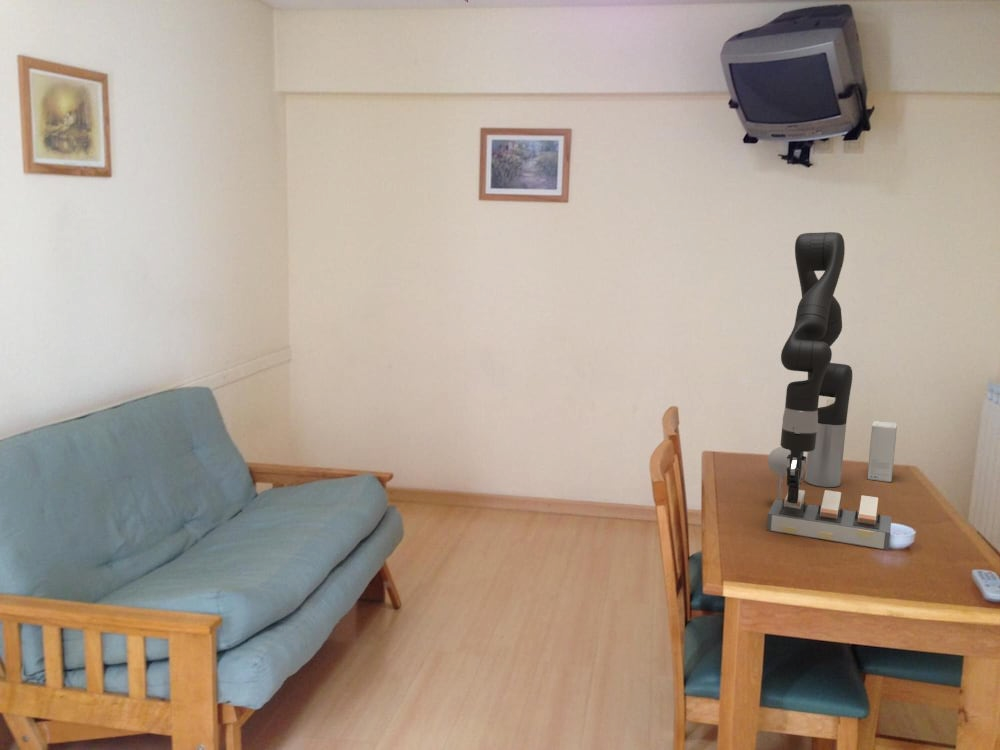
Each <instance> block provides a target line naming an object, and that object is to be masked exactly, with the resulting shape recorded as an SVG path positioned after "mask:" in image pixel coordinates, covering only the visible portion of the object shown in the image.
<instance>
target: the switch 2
mask: <svg viewBox="0 0 1000 750" xmlns="http://www.w3.org/2000/svg"><path fill="white" fill-rule="evenodd" d="M841 497H842V492H841V491H837V490H835V491H834V490H827V489H825V490H824V492H823V498H822V503H821V511H820V516H823V517H830V518H836V519H837V515H838V510H839V509H840V505H841V504H840V503H841Z"/></svg>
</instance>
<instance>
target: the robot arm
mask: <svg viewBox="0 0 1000 750" xmlns="http://www.w3.org/2000/svg"><path fill="white" fill-rule="evenodd" d="M845 246H846V245H845V240H844V237H843V235H842V234H841V233H840V232H834V231H833V232H832V231H829V232H828V231H827V232H826V231H825V232H805V233H804V232H803V233H801V234H799V235H798V236H797V237H796V240H795V243H794V256H795V265H796V270H797V274H798V279H799V286H800V292H801V298H800V300H799V303H798V306H797V309H796V315H795V321H794V326H793V329H792V331H791V333H790V334H789V337H788V338H787V340H786V342H785V343H784V345H783V348H782V350H781V354H780V361H781V364H782V366H783V367H784V368H785V369H786V370H788V371H792V372H803V373H804V372H805V373H807V379H805V380H799V381H796V380H795V381H791V382H789V383H788V384H787V385H786V386H787V387H786V392H785V393H786V394H785V405H784V412H783V415H782V424H781V436H780V447H782V448H784V449H789V450H790V451H791V453H790V454H788V457H787V460H786V464H787V474H786V475H785V476H786V486H787V487H788V488H787V493H788V497H787V501H788V502H789V503H797V501H798V495H799V490H800V487H801V485H802V480H803V476H804V481H805V482H806V483H808V484H810V485H813V486H817V487H824V488H836V487H839V486H841V479H842V471H843V463H844V462H843V461H844V460H843V459H844V452H845V442H846V441H845V440H846V432H847V431H846V429H847V418H848V412H849V411H848V410H849V403H850V397H851V396H850V395H851V389H852V384H853V370H852V369H853V368H852V367H851V365H849V364H844V363H836V362H831V361H832V357H833V351H832V348H831V346H832V345H833V344H834V343H835V342H836V340H837V339H838V338H839V336H840V335H841V333H842V330H843V318H842V308H841V305H840V303H839V302H838V299H837V298H836V297H835V296H834V294H835V291H836V288H837V285H838V282H839V279H840V275H841V273H842V272H841V271H842V269H843V265H844V262H845V261H844V260H845V254H846V253H845V251H846V249H845V248H846V247H845ZM820 271H821V272H823V274H822V275H821V276H820V278H818V276H817V274H816V272H820ZM820 397H828V398H833V399H834V402H833V403H831V404H829V405H824V406H821V407H819V402H820V401H819V398H820ZM805 453H806V456H805V455H804V454H805ZM804 473H805V475H804Z"/></svg>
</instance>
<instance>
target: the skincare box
mask: <svg viewBox="0 0 1000 750" xmlns="http://www.w3.org/2000/svg"><path fill="white" fill-rule="evenodd" d="M897 428H898V423H897V422H892V421H891V422H889V421H888V422H887V421H878V420H877V421H876V420H873V422H872V425H871V432H870V443H869V453H868V467H867V469H868V470H867V479H868V480H870V481H871V480H872V481H878V482H886V483H887V482H888V483H892V479H893V472H894V471H893V470H894V463H895V452H896V441H897V431H898V430H897Z"/></svg>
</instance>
